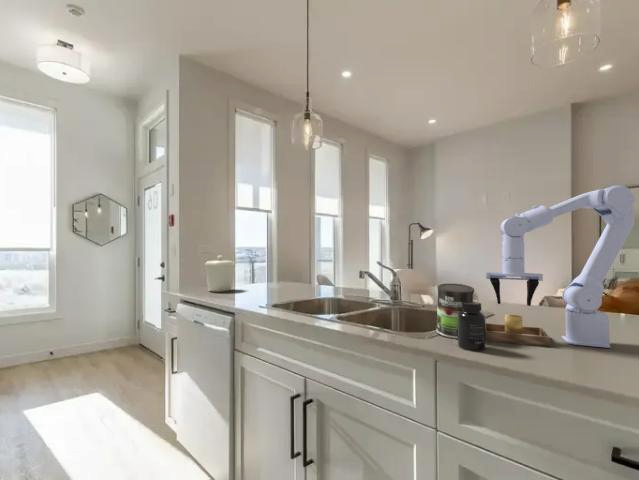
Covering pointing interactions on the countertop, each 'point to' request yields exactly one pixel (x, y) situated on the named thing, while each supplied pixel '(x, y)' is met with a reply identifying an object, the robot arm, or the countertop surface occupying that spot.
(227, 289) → the canister
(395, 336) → the countertop surface
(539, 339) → the tray
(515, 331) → the tan wooden cylinder
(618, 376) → the countertop surface
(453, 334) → the coffee can
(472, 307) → the supplement bottle
